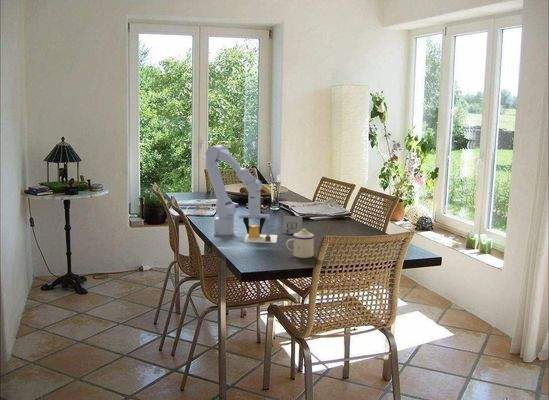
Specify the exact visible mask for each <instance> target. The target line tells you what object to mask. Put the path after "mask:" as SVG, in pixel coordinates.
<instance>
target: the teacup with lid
mask: <svg viewBox="0 0 549 400" xmlns="http://www.w3.org/2000/svg"><path fill="white" fill-rule="evenodd" d="M292 237H293V238H290V239H287V241H286V243H285V244H286V247H287V249H288V250H289V251H292V252H293V254H292V255H293V256H294V257H295V258H299V259H309V258H313V257H314V251H315V250H314V249H315V247H314V245H315V242H314V241H315V235H314V234H313V233H311V232H309V231H307V228H302V231H300V232H298V233H295V234H293V236H292ZM289 242H293V248H290V246H289Z"/></svg>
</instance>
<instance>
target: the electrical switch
mask: <svg viewBox="0 0 549 400" xmlns="http://www.w3.org/2000/svg"><path fill="white" fill-rule="evenodd" d="M282 221H283V222H282V234H287V235H288V234H289V235H290V234H293V235H294V234H295V233H298V232H300V231H302V229H303V228H302V225H303V217H302V216H288V215H287V216H286V215H284V216H283V220H282Z"/></svg>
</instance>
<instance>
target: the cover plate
mask: <svg viewBox="0 0 549 400" xmlns="http://www.w3.org/2000/svg"><path fill="white" fill-rule="evenodd" d="M277 240H278V234H270V233H266V234H260V237H257V238H252V237H249V234H247V233H246V234H245V237H244V240H243V243H261V244H262V243H263V244H265V243H266V244H267V243H268V244H269V243H270V244H271V243H272V244H276V243H277Z"/></svg>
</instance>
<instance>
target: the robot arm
mask: <svg viewBox="0 0 549 400" xmlns="http://www.w3.org/2000/svg"><path fill="white" fill-rule="evenodd" d="M221 161H222V162H224V163H227V165H229V167H230V168H231V169H232V170H234V171H235V172H236V178H238V179H239V180H240V182H241V183H243V185H244V186H245V188H246V191H247V192H248V196H247V197H248V202H247V203H248V204H247V205H248V212H247V213H239V214H238V219H239V220H240V219H242V220H243V223H244V225H245V228H246V235H247V234H249V226H250V219H253V220H255V219H256V220H259V226H260V235H262V231H263V227H264V224H265V223H266V220H270V219H271V217H270V214H269V213H268V214H265V213H261V190H262V189H263V183H262V181H261V180H260V179H257V178H256V176H254V175H253V173H251V172H250V170H249V168H248V169H247V168H245V167H242V166H241V164H240V163H239V162H238V161H237V160H236V158H235V157H234V156H233V155H232V154H231V152H230V150H229V149H228V148H227V147H226V146H225V145H223V144H217V145H211V146H209V147H208V148H207V149H206V151H205V168H206V171H207V174H208V177H209V179H210V182H211V186H212V188H213V191H214V195H215V197H216V204H215V207H216V215H217V216H218V217H214V223H213V224H214V225H213V226H214V229H213V233H214V235H217V236H218V235H219V236H232V235H234V234H235V219H234V217H235V216H234V215H235V214H236V212H237V206H236V205H235V203H233V201H232V199H231V198H230V197H229V196H228V193H227V190H226V187H225V184H224V180H223V178H222V175H221V173H220V170H219V167H218V166H219V164H220V162H221Z"/></svg>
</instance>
